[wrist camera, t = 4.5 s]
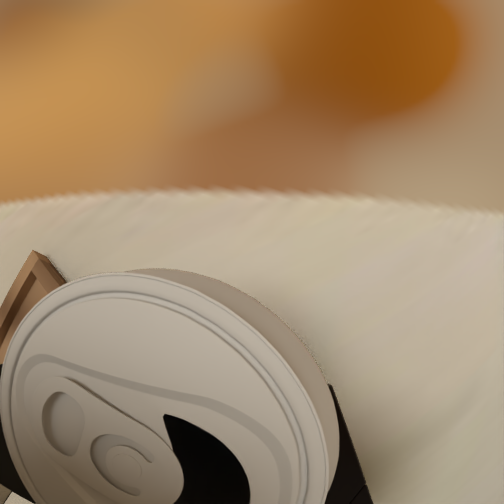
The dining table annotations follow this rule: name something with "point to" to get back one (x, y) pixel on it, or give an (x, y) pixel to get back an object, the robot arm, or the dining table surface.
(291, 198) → the dining table surface
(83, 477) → the beverage can
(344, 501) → the robot arm
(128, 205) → the dining table surface
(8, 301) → the tray
